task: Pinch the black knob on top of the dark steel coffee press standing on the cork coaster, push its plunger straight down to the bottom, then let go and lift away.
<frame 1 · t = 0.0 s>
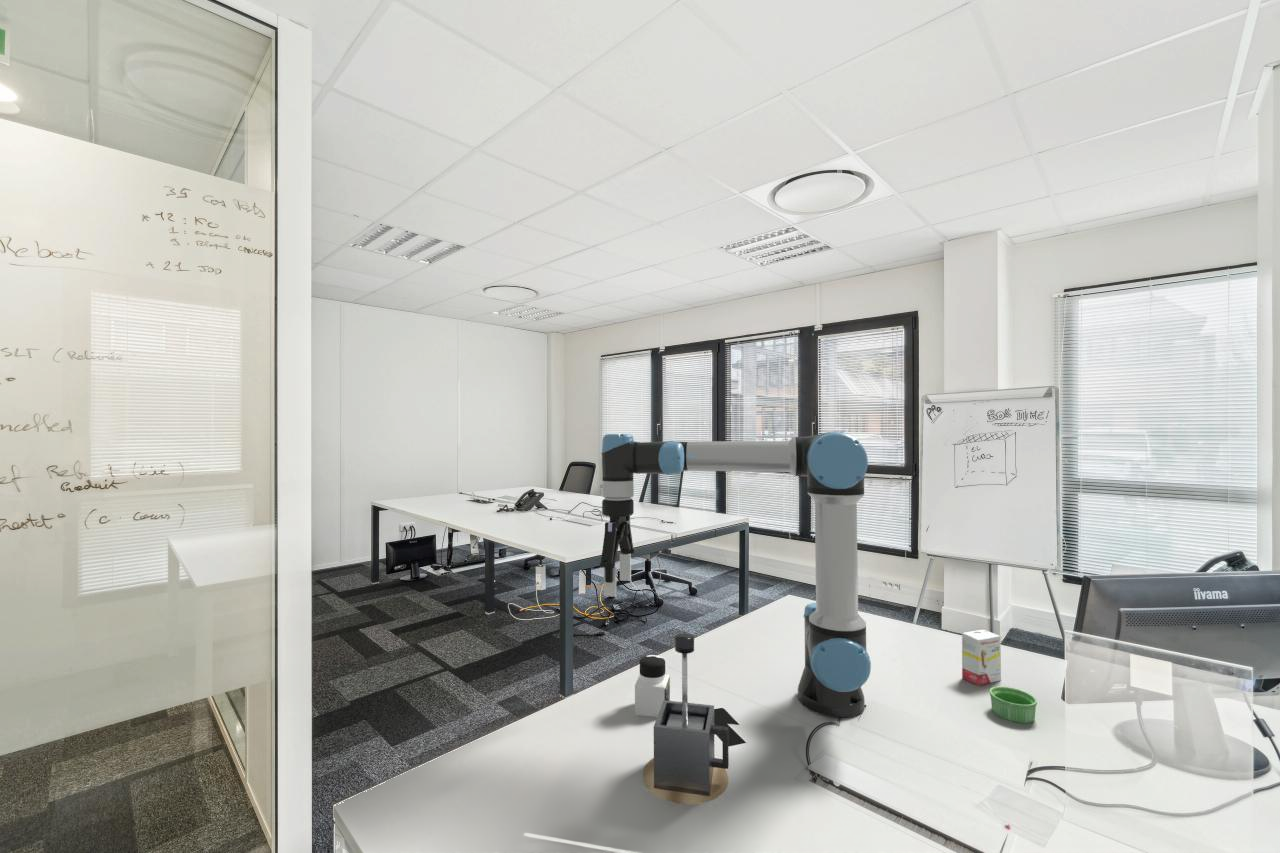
hand: (618, 587, 127), 28 cm above the table, fingers open, 13 cm apart
smartphone: (724, 730, 117), on the table
ink box: (981, 680, 140), on the table
ramekin: (1013, 715, 122), on the table
coaster: (685, 777, 100), on the table
plunger: (684, 682, 101), point 18 cm above the table, slide at 0.0 cm
medicine bottle: (652, 710, 125), on the table
press body: (685, 775, 100), resting on coaster
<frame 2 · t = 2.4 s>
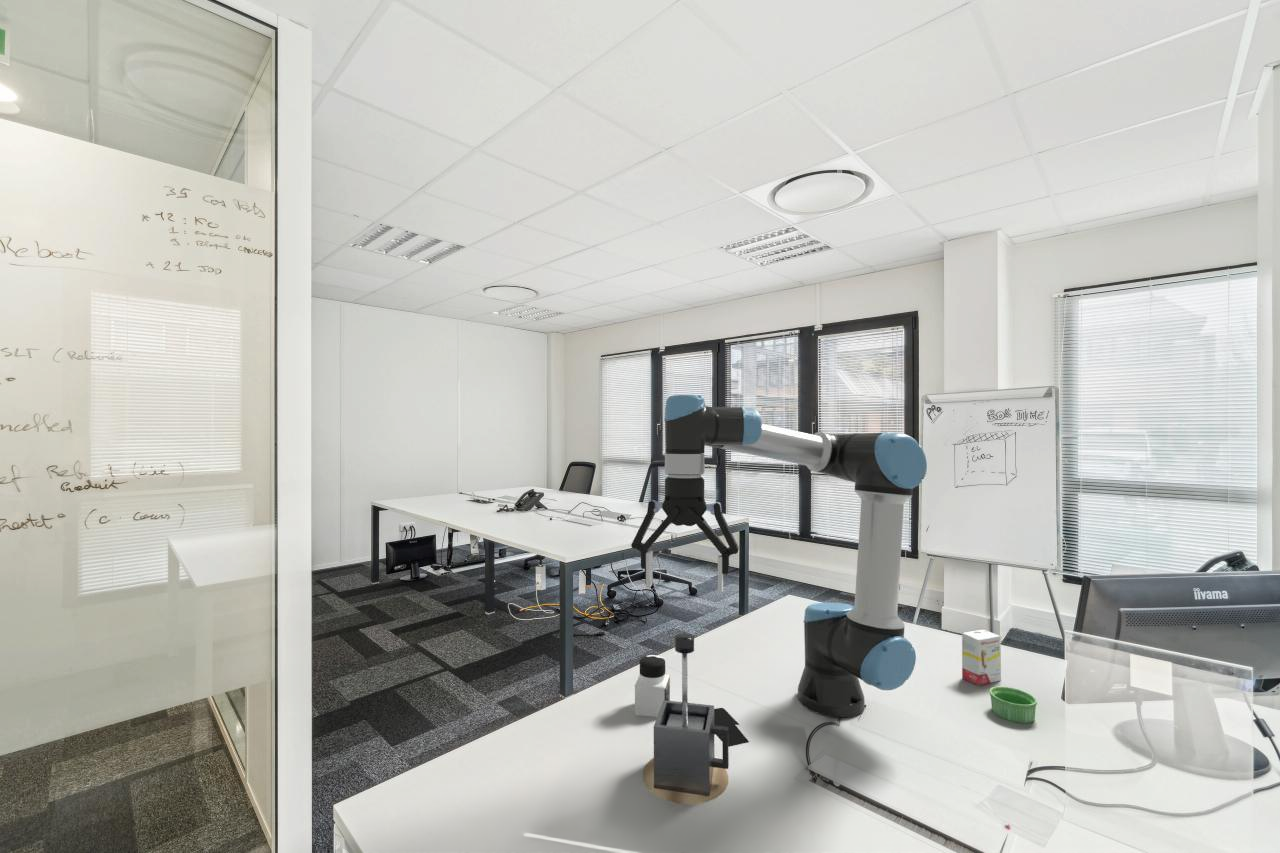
hand: (684, 588, 101), 35 cm above the table, fingers open, 13 cm apart
nothing on the table moved.
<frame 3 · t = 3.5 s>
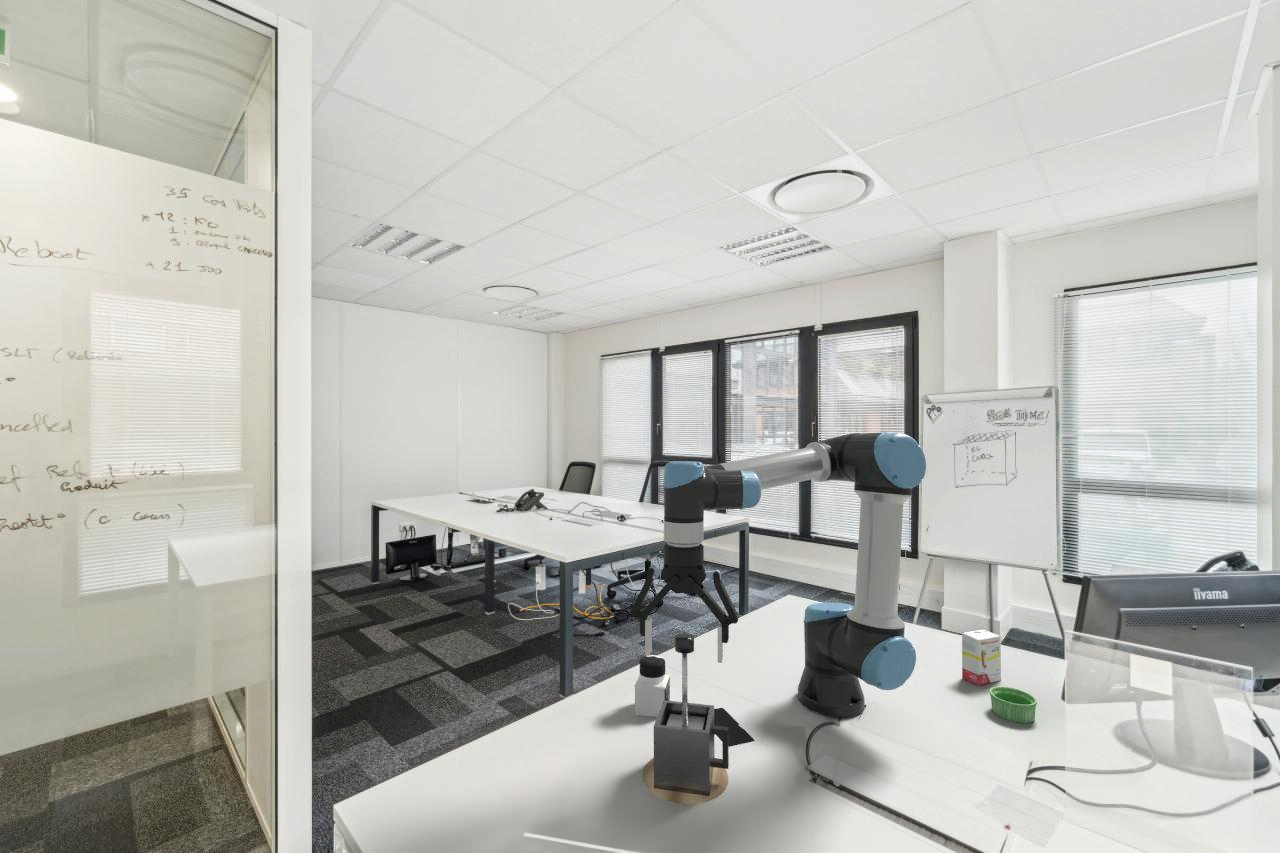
hand: (683, 656, 101), 22 cm above the table, fingers open, 13 cm apart
nothing on the table moved.
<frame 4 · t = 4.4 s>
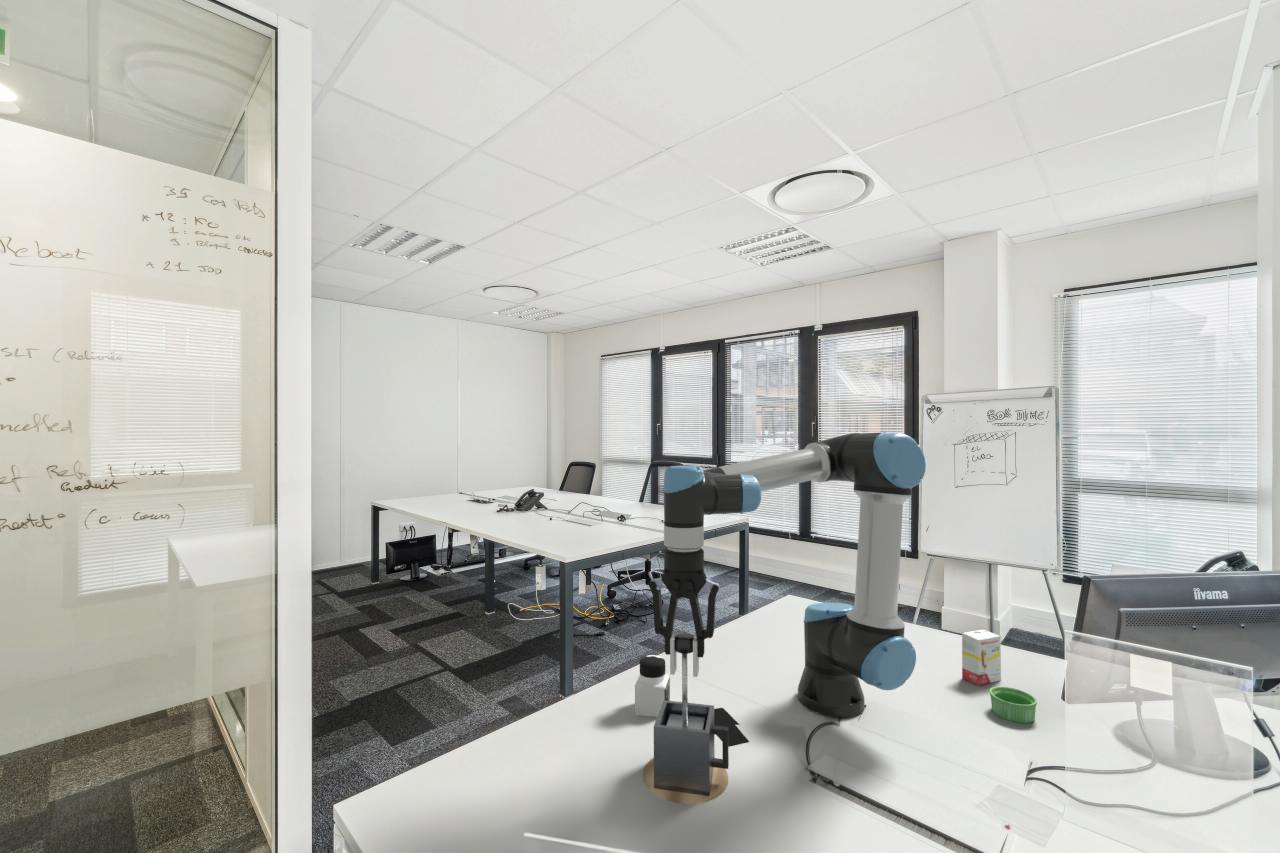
hand: (684, 672, 101), 19 cm above the table, fingers closed on plunger, 4 cm apart
plunger: (684, 682, 101), point 18 cm above the table, slide at 0.0 cm, touching gripper
everything else where it was.
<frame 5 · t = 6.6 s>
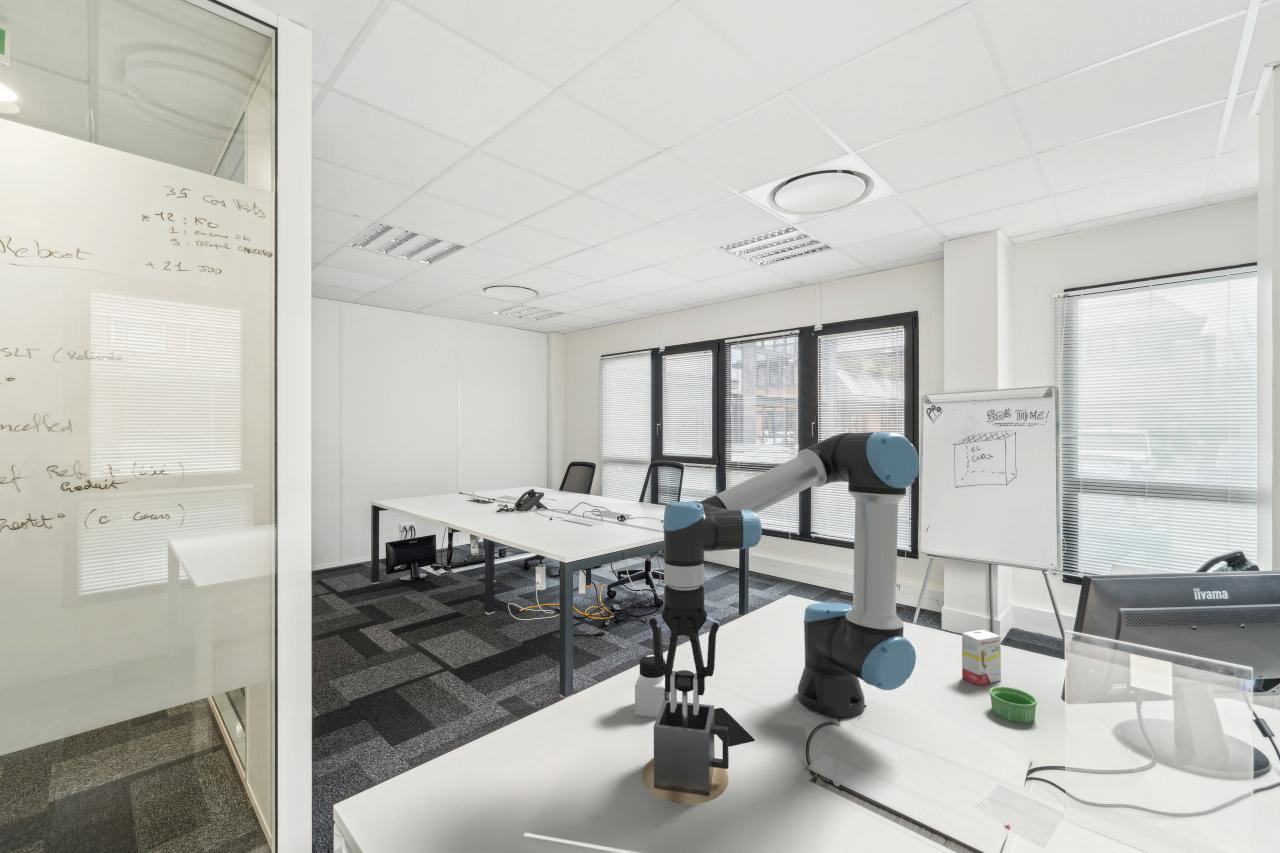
hand: (684, 709, 101), 12 cm above the table, fingers closed on plunger, 4 cm apart
plunger: (685, 720, 100), point 11 cm above the table, slide at 7.0 cm, touching gripper
everything else where it was.
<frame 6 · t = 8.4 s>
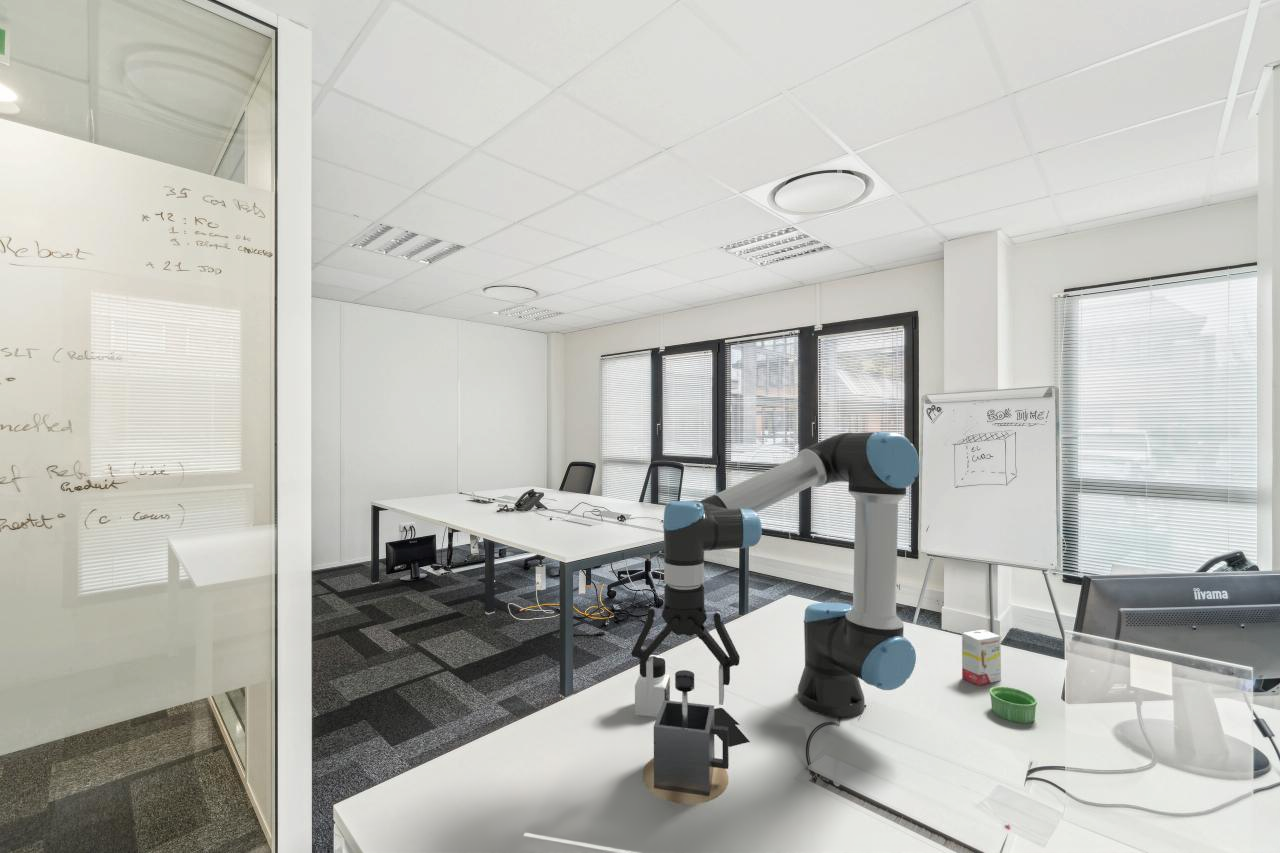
hand: (685, 697, 101), 15 cm above the table, fingers open, 13 cm apart
plunger: (685, 720, 100), point 11 cm above the table, slide at 7.0 cm
everything else where it was.
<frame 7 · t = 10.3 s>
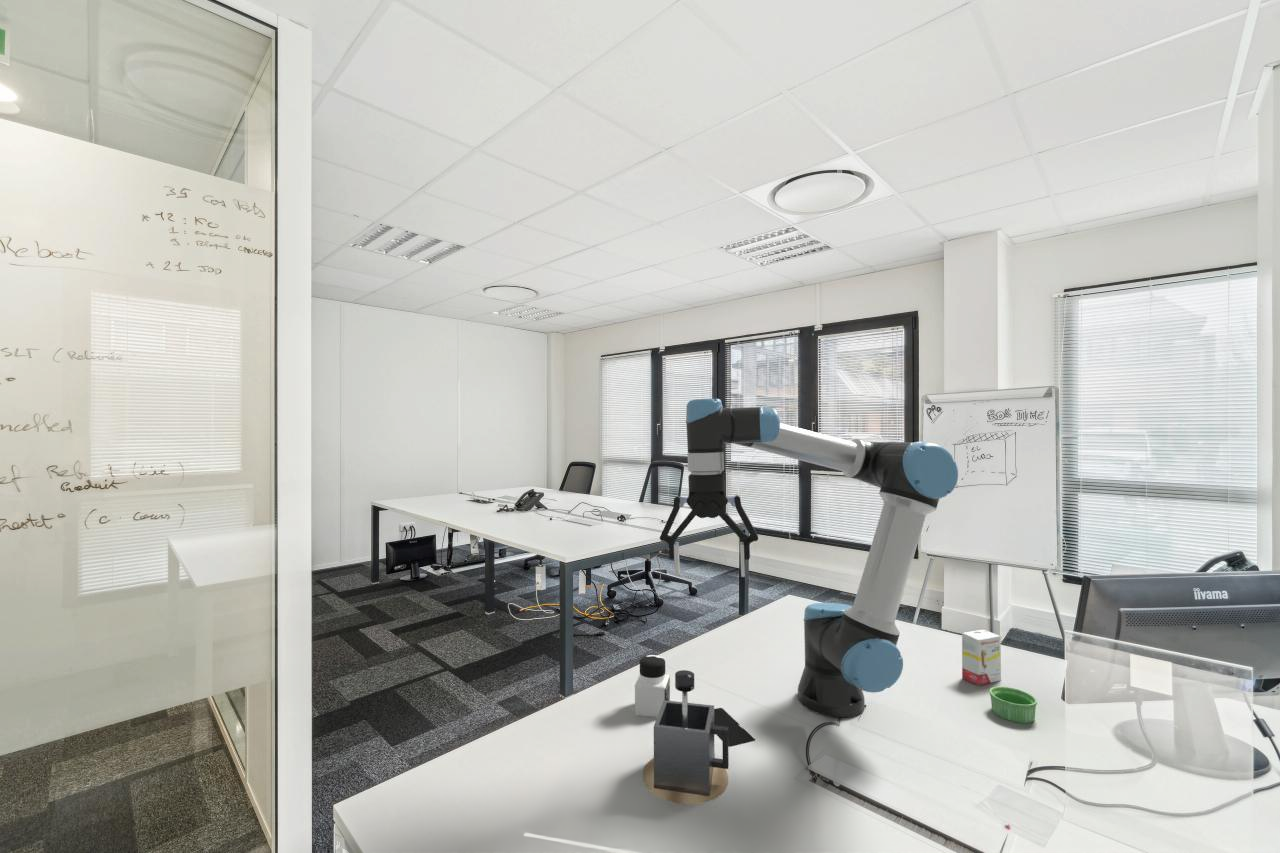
hand: (709, 574, 112), 35 cm above the table, fingers open, 13 cm apart
nothing on the table moved.
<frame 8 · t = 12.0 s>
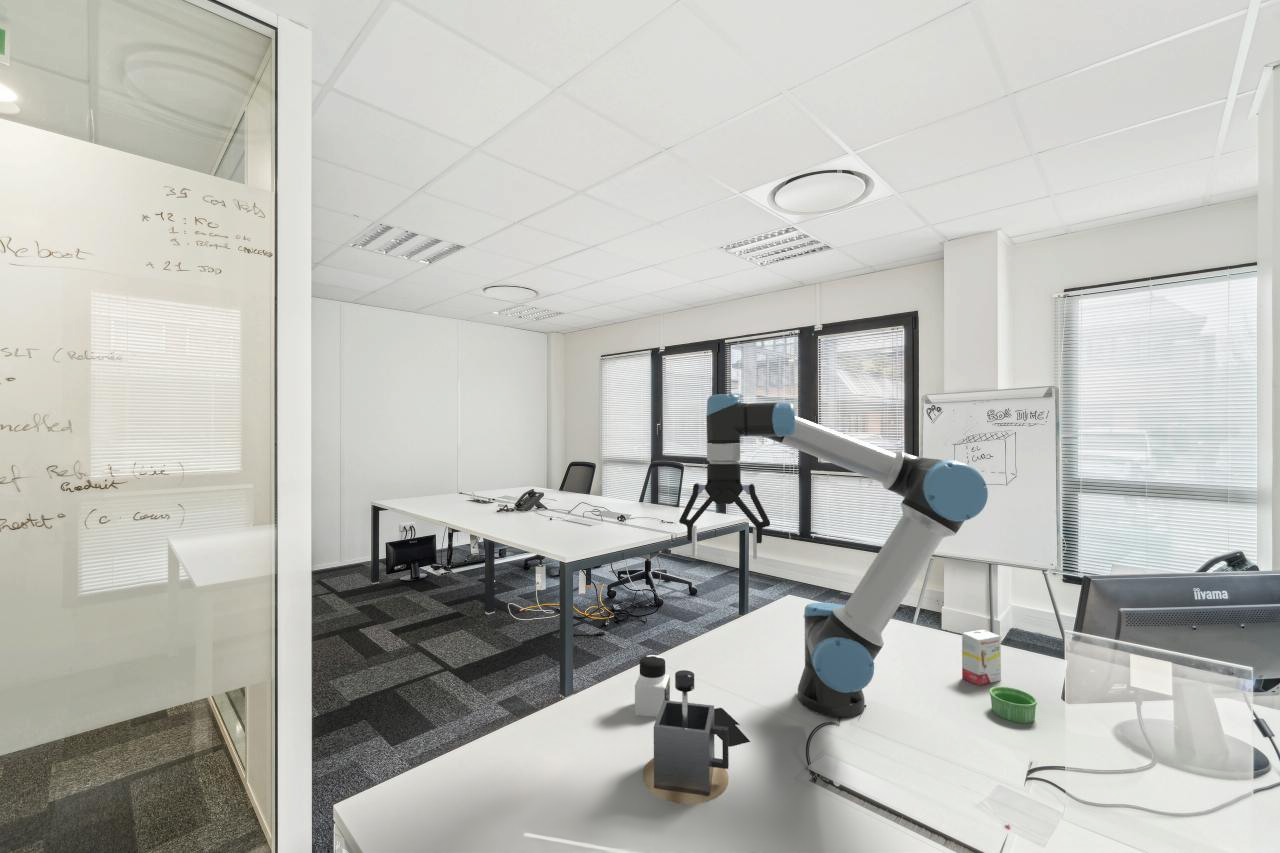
hand: (724, 556, 121), 37 cm above the table, fingers open, 13 cm apart
nothing on the table moved.
at the end: plunger slide at 7.0 cm; the gripper is holding nothing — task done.
